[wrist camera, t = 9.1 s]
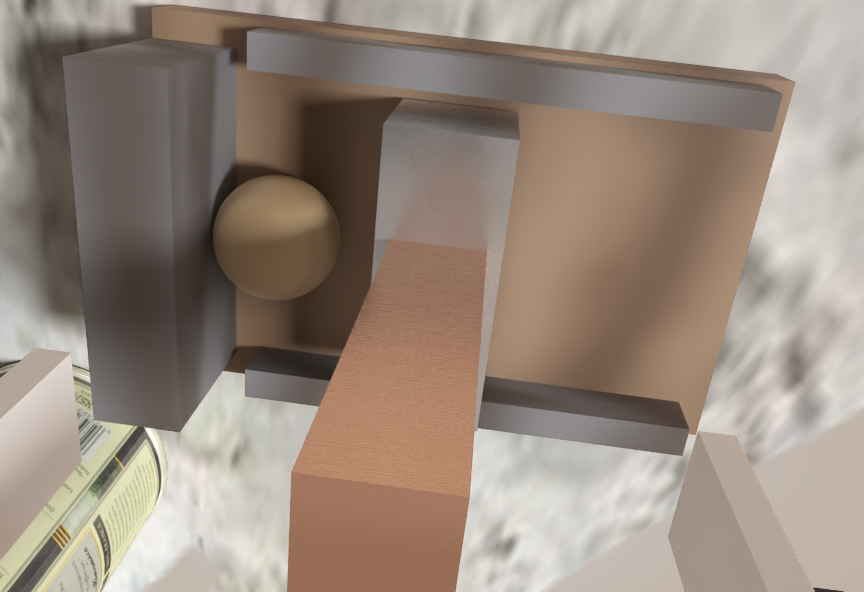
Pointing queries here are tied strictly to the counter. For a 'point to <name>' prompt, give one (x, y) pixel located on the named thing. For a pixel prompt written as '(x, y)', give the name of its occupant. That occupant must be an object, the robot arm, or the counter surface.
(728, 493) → the robot arm
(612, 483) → the counter surface
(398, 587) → the sliding jaw
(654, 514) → the counter surface
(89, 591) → the coffee can
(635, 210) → the base
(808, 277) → the counter surface
